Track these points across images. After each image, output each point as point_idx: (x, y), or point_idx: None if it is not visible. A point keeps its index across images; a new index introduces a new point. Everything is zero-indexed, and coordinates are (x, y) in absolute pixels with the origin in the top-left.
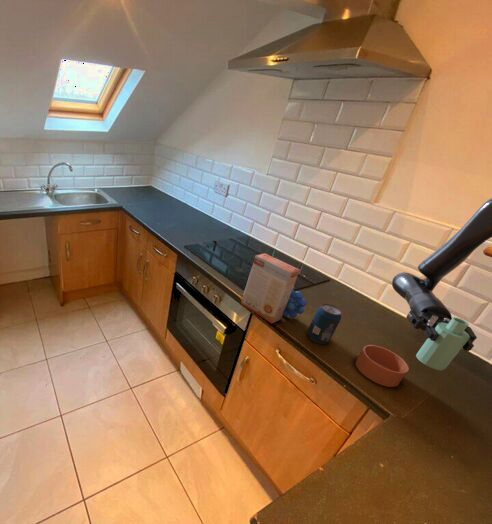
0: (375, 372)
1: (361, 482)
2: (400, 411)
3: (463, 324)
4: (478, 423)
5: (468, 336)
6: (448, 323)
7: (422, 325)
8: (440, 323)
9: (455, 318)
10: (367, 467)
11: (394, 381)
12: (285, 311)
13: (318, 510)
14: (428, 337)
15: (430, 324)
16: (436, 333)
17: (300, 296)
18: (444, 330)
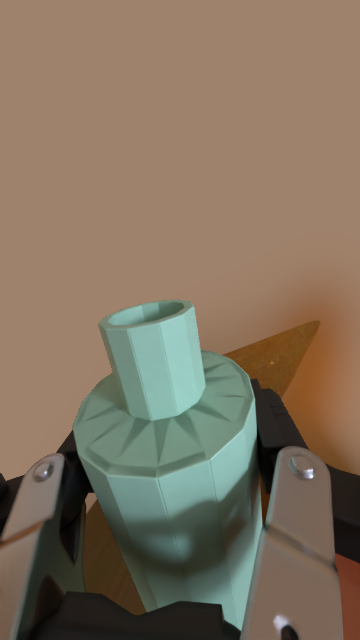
0: None
1: (283, 346)
2: None
3: (154, 302)
4: (100, 512)
5: (111, 376)
6: (193, 372)
7: (348, 479)
8: (230, 425)
9: (159, 322)
10: (282, 356)
11: None
12: None
13: (300, 327)
14: (259, 501)
15: (296, 461)
16: (251, 383)
17: None
18: (224, 360)
